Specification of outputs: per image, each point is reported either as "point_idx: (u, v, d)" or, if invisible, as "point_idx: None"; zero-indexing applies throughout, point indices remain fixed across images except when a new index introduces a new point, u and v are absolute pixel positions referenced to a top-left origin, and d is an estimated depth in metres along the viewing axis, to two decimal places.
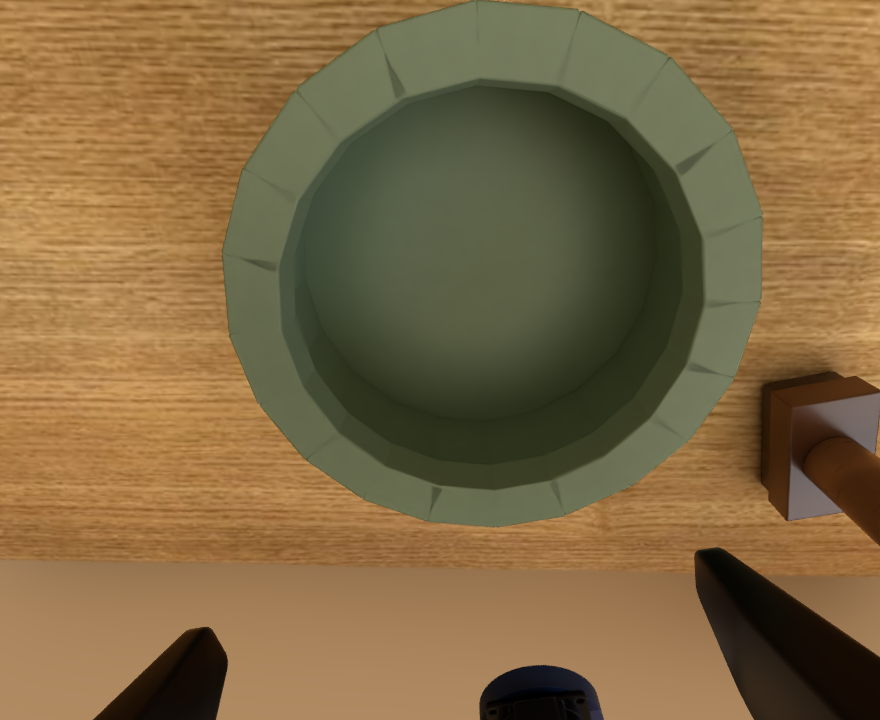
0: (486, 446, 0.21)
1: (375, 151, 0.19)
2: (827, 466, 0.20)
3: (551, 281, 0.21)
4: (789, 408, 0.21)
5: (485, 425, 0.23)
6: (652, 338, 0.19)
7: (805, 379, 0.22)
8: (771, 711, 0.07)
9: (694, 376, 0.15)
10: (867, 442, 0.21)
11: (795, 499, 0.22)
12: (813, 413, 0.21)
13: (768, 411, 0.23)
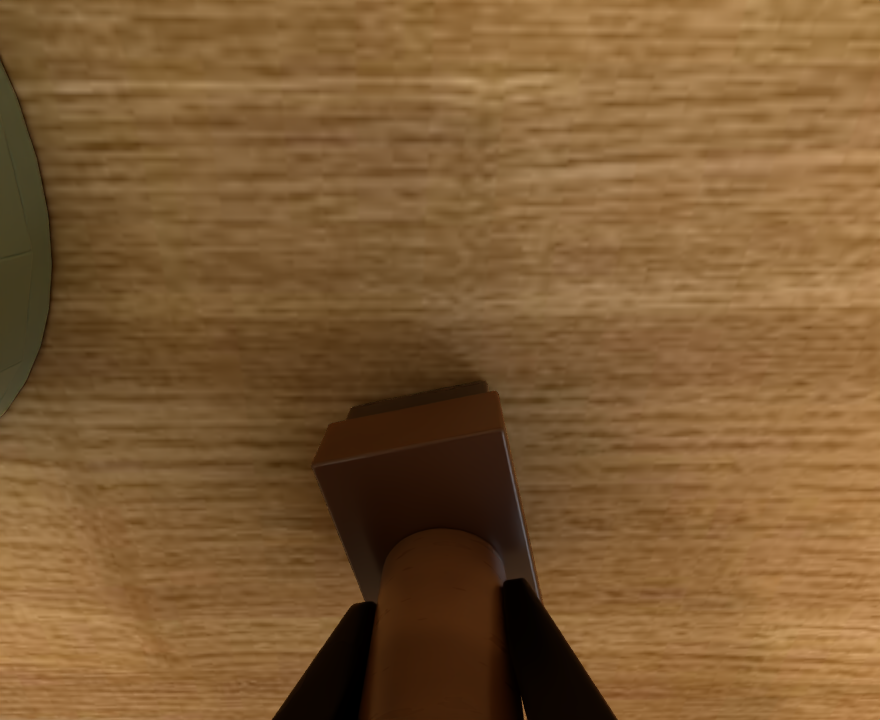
0: None
1: None
2: (378, 604, 0.09)
3: None
4: (312, 467, 0.09)
5: None
6: None
7: (422, 396, 0.11)
8: None
9: None
10: (507, 539, 0.09)
11: None
12: (363, 478, 0.09)
13: None
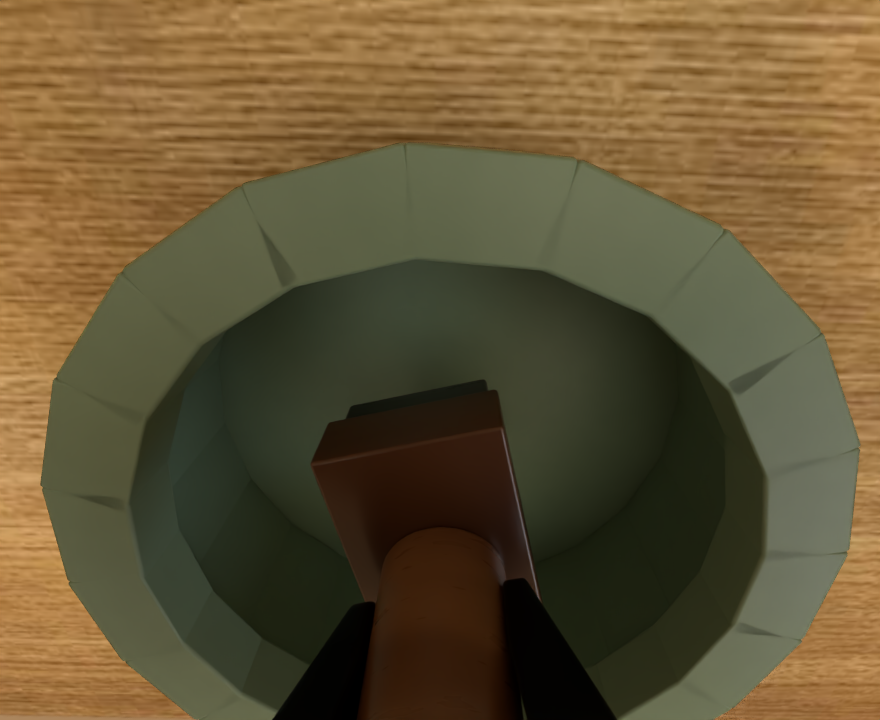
0: None
1: None
2: (378, 603, 0.09)
3: (542, 425, 0.16)
4: (311, 465, 0.09)
5: None
6: (674, 512, 0.15)
7: (421, 395, 0.11)
8: None
9: (744, 639, 0.10)
10: (506, 538, 0.09)
11: None
12: (362, 477, 0.09)
13: None
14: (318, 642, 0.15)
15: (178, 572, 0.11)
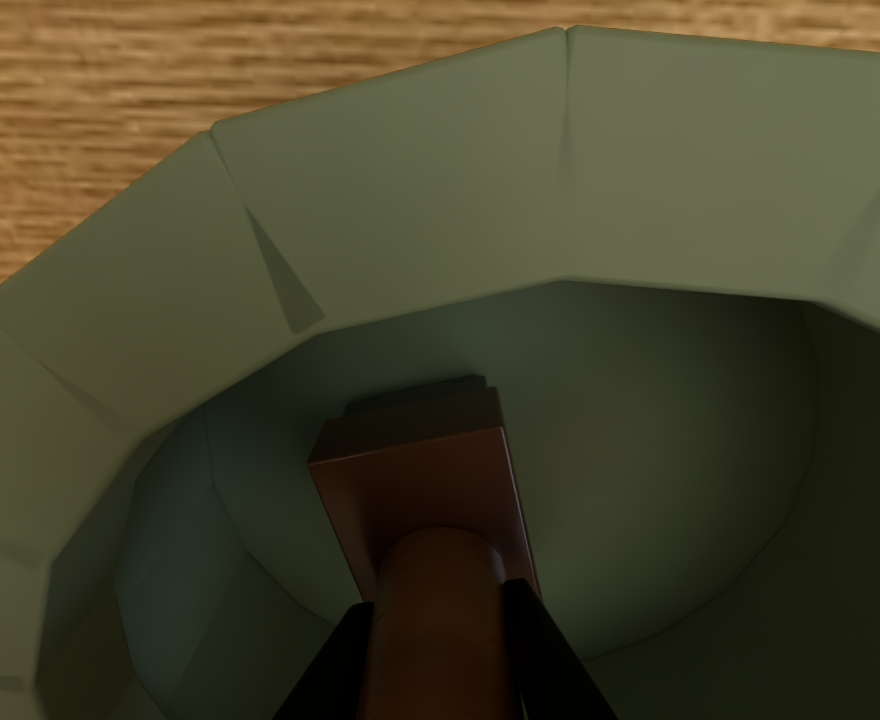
0: None
1: None
2: (376, 604, 0.08)
3: (628, 486, 0.12)
4: (307, 464, 0.09)
5: None
6: (819, 611, 0.11)
7: (420, 392, 0.11)
8: None
9: None
10: (506, 537, 0.09)
11: None
12: (360, 476, 0.09)
13: None
14: None
15: None
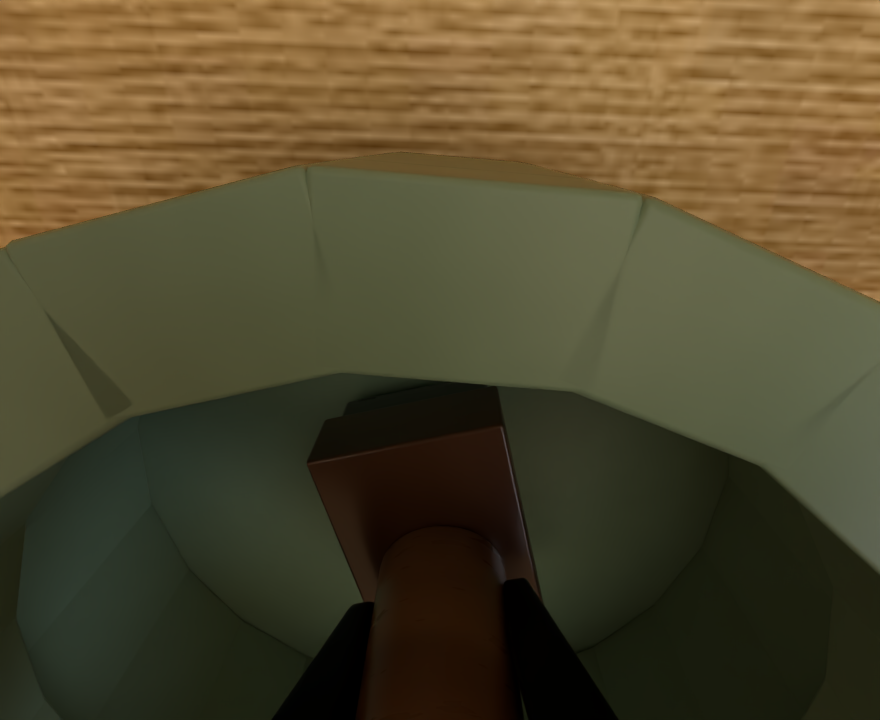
0: None
1: None
2: (376, 603, 0.08)
3: (552, 508, 0.13)
4: (307, 464, 0.09)
5: None
6: (726, 630, 0.11)
7: (420, 392, 0.11)
8: None
9: None
10: (506, 537, 0.09)
11: None
12: (360, 475, 0.09)
13: None
14: None
15: None
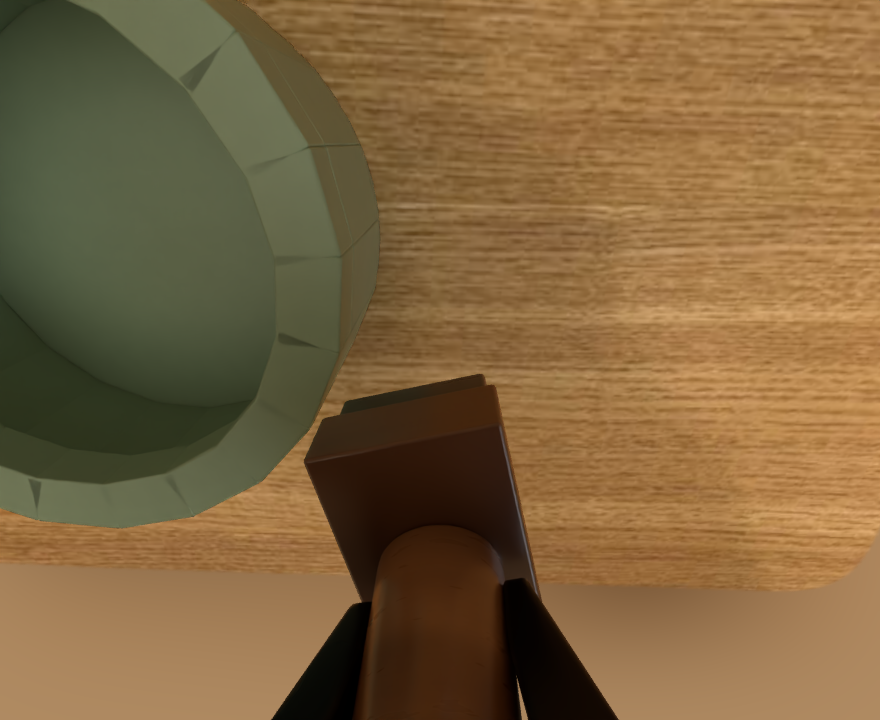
0: (182, 435, 0.18)
1: (13, 88, 0.16)
2: (373, 602, 0.08)
3: (250, 247, 0.18)
4: (304, 463, 0.09)
5: (205, 412, 0.20)
6: None
7: (418, 390, 0.11)
8: None
9: (289, 350, 0.12)
10: (504, 535, 0.09)
11: None
12: (357, 474, 0.09)
13: None
14: (34, 425, 0.17)
15: None
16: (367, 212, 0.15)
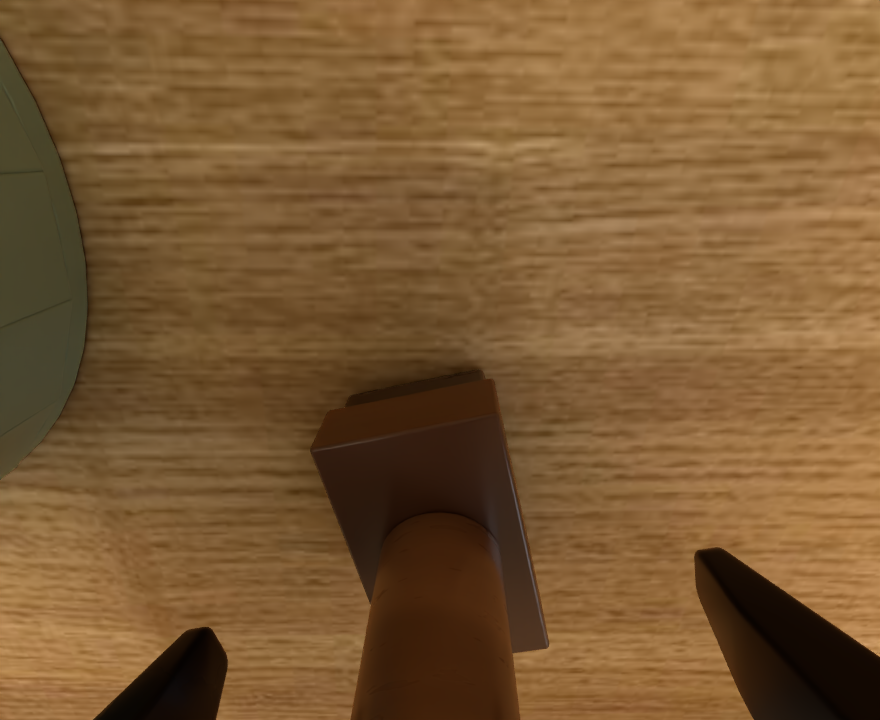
0: None
1: None
2: (376, 584, 0.09)
3: None
4: (311, 452, 0.09)
5: None
6: None
7: (419, 385, 0.11)
8: (771, 711, 0.07)
9: None
10: (502, 523, 0.10)
11: None
12: (361, 462, 0.09)
13: None
14: None
15: None
16: None
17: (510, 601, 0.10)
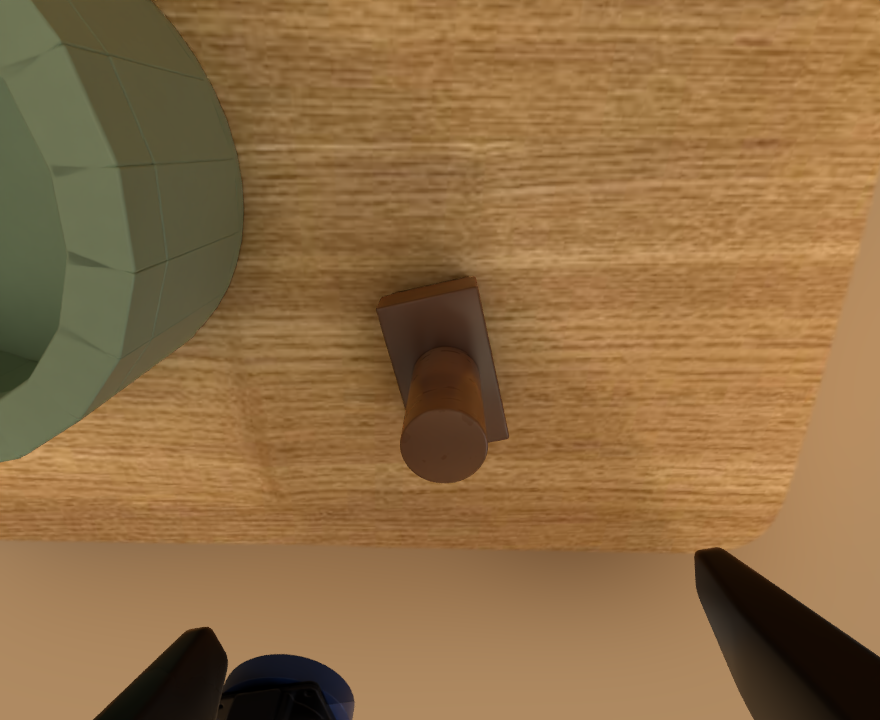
0: None
1: None
2: (412, 378, 0.17)
3: None
4: (376, 310, 0.17)
5: None
6: None
7: (433, 285, 0.19)
8: (771, 711, 0.07)
9: (83, 271, 0.12)
10: (480, 354, 0.17)
11: None
12: (403, 316, 0.17)
13: None
14: None
15: None
16: (202, 144, 0.15)
17: (485, 405, 0.18)
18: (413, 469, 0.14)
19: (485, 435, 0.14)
